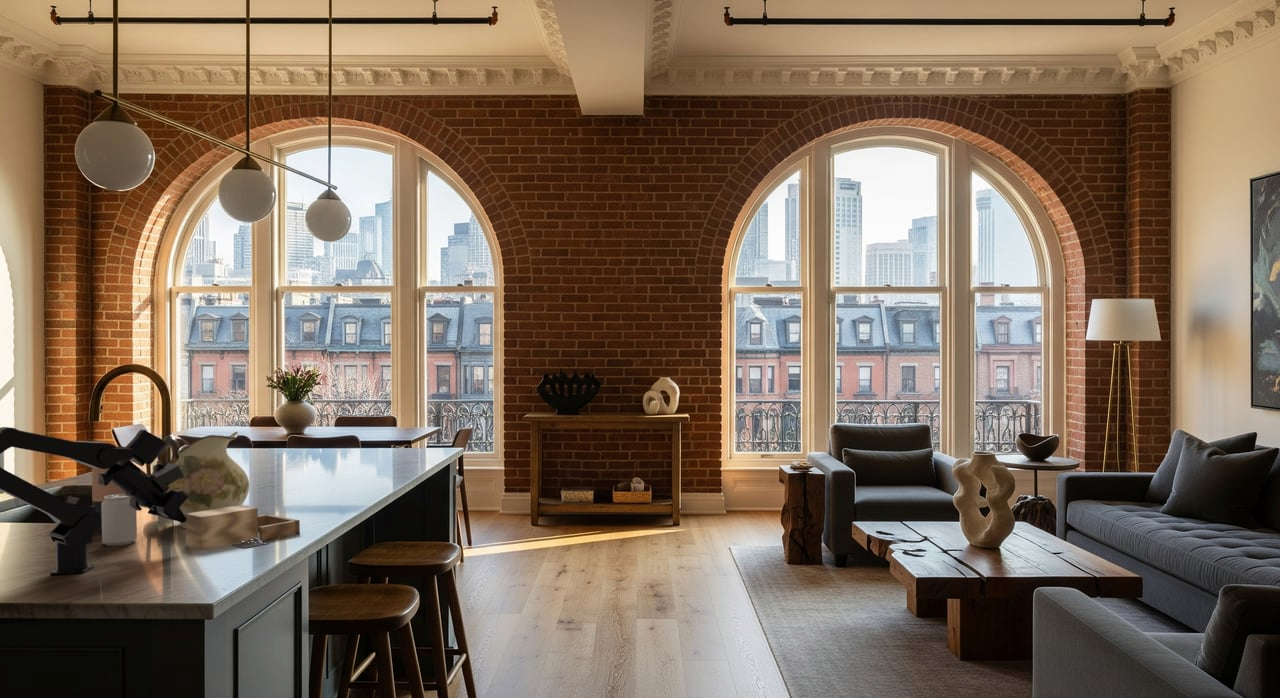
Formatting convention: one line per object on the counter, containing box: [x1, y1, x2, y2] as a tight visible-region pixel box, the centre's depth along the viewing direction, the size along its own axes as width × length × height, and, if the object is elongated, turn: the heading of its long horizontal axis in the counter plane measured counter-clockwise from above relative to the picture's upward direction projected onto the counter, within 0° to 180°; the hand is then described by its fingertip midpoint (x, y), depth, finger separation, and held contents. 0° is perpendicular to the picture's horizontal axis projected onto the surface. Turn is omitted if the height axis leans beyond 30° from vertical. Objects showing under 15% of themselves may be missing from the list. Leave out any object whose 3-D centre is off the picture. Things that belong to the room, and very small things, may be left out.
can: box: [101, 494, 138, 547], centre depth 218 cm, size 8×8×12 cm
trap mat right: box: [231, 539, 267, 549], centre depth 214 cm, size 6×6×1 cm
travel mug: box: [91, 461, 125, 535], centre depth 233 cm, size 8×8×20 cm
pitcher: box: [157, 431, 250, 529], centre depth 241 cm, size 22×24×25 cm
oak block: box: [185, 504, 259, 551], centre depth 217 cm, size 14×8×8 cm, turn 142°
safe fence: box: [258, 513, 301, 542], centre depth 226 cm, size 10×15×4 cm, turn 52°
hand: (184, 521), depth 210 cm, fingers closed
